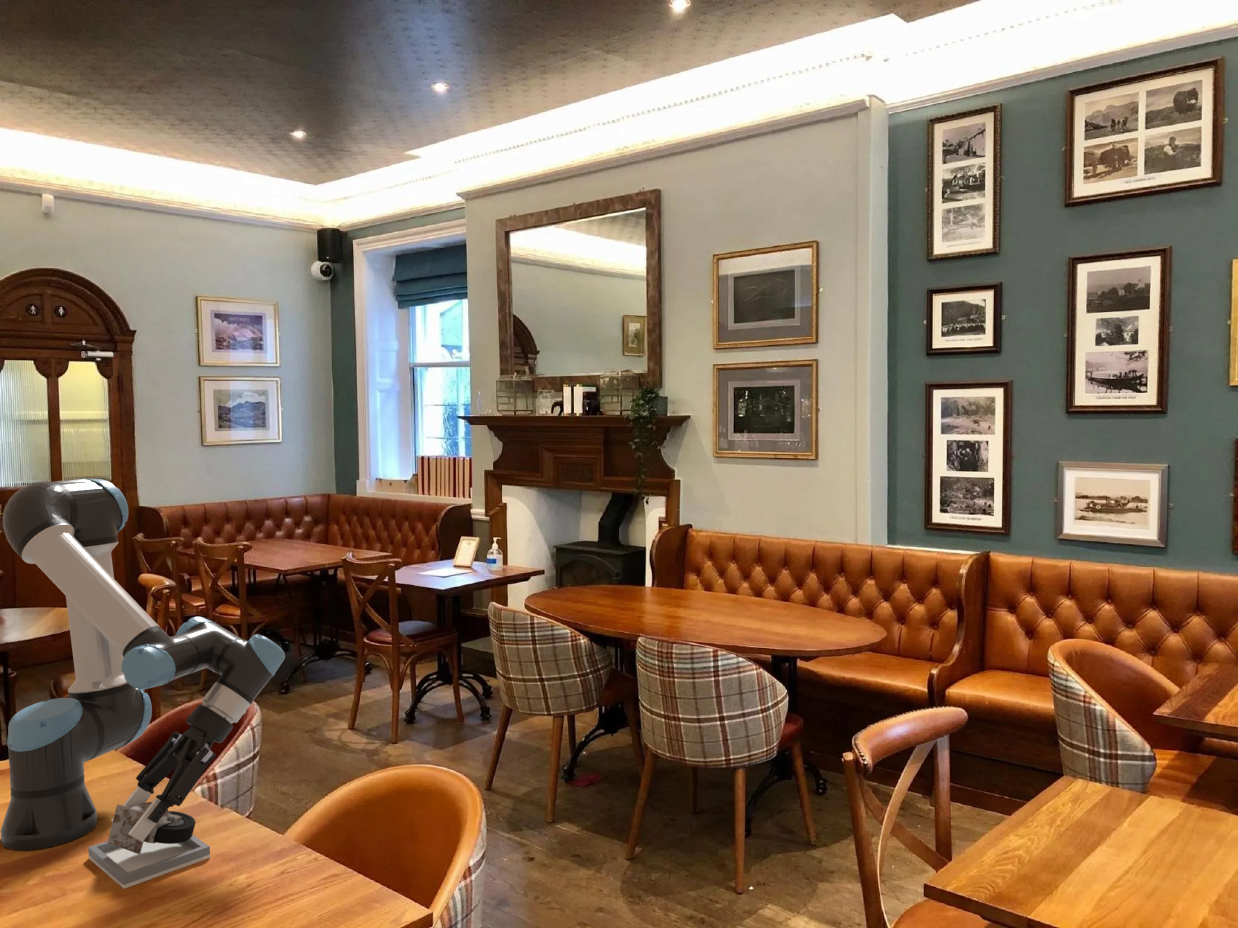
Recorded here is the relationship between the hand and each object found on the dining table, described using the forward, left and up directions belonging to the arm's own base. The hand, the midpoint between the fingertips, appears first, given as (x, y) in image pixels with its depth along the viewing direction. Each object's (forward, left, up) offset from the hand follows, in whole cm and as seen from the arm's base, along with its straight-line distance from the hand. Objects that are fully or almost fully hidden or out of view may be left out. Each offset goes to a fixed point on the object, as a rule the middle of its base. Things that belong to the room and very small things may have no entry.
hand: (126, 830), depth 157 cm
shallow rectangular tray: (0, +3, -6) cm, 7 cm away
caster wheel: (0, +5, -4) cm, 6 cm away
